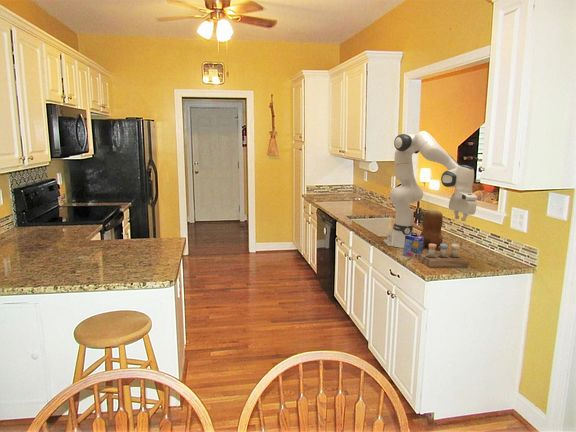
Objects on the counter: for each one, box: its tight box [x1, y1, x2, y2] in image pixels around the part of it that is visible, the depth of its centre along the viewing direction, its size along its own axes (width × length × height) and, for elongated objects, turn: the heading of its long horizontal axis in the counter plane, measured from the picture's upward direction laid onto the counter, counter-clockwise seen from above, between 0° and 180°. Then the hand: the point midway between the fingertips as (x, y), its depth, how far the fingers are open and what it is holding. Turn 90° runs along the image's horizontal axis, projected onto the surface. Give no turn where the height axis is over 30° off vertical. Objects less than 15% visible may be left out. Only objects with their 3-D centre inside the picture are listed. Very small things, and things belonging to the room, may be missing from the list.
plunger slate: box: [439, 243, 449, 257], centre depth 240 cm, size 4×4×7 cm
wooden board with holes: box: [417, 253, 469, 269], centre depth 241 cm, size 14×22×4 cm, turn 101°
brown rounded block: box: [419, 209, 444, 249], centre depth 277 cm, size 14×13×25 cm
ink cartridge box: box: [403, 231, 424, 259], centre depth 255 cm, size 10×6×14 cm, turn 51°
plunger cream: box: [450, 243, 460, 257], centre depth 241 cm, size 4×4×7 cm
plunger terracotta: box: [427, 243, 437, 257], centre depth 239 cm, size 4×4×7 cm
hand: (460, 220), depth 239 cm, fingers open, 5 cm apart
